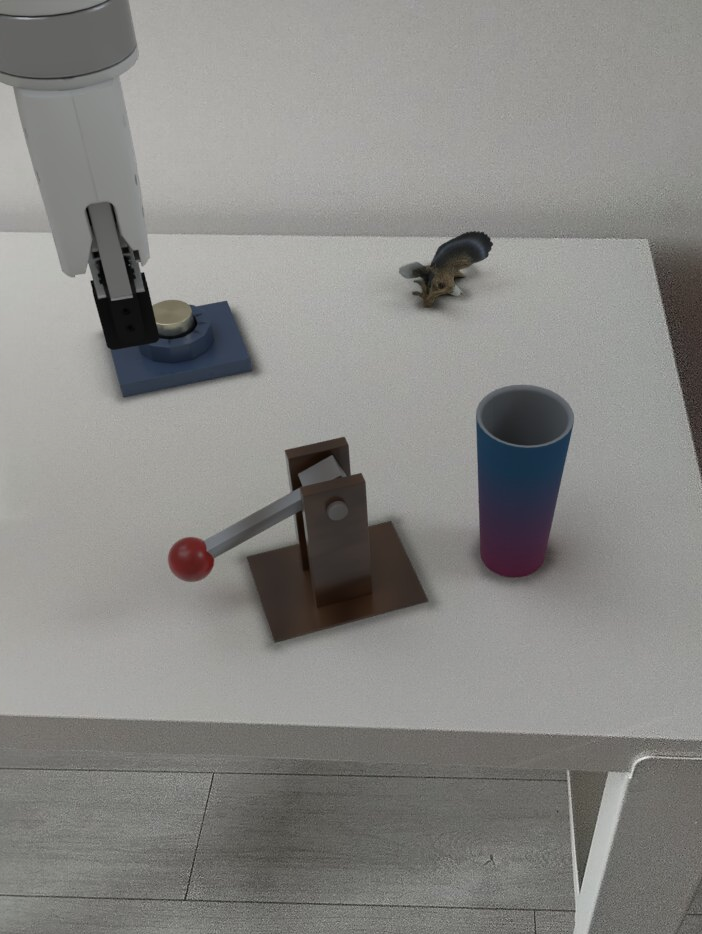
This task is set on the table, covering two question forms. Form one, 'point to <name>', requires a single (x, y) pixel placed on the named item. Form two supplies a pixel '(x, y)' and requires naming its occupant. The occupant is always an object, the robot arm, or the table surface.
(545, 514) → the cup
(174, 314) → the button
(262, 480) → the table surface
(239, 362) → the box
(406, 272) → the brown squirrel toy
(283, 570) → the bracket
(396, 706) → the table surface
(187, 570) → the lever
